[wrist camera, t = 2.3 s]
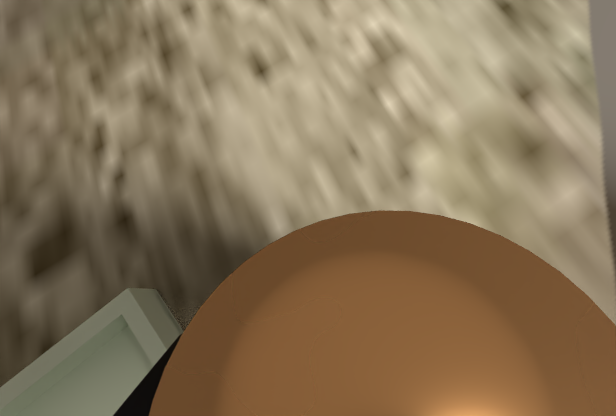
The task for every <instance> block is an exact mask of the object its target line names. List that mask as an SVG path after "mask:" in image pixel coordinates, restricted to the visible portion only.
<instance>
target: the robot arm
mask: <svg viewBox="0 0 616 416" xmlns="http://www.w3.org/2000/svg"><path fill="white" fill-rule="evenodd" d="M182 334H183V333H182ZM182 334H180V335H179V336H178V337H177V338H176V340H175V341H174V342H173V343H172V344H171V346H170V347H169V348H168V349H167V351H166V352H165V353H164V354H163V355H162V357H161V358H160V359H159V360H158V361H157V363H156V364H155V365H154V366H153V367H152V369H151V370H150V371H149V372H148V374H147V375H146V376H145V377H144V378H143V380H142V381H141V382H140V383H139V384H138V386H137V387H136V388H135V389H134V390H133V392H132V393H131V394H130V395H129V396H128V398H127V399H126V400H125V401H124V403H123V404H122V405H121V406H120V407H119V409H118V410H117V411H116V412H115V413H114V415H113V416H149V413H150V409H151V405H152V401H153V398H154V396H155V393H156V390H157V388H158V385H159V382H160V380H161V377H162V374H163V372H164V369H165V367H166V365H167V363H168V361H169V359H170V357H171V355H172V353H173V351H174V349H175V347H176V345H177V343H178V341H179V339H180V337H181V335H182Z"/></svg>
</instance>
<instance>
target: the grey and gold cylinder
mask: <svg viewBox="0 0 616 416" xmlns="http://www.w3.org/2000/svg"><path fill="white" fill-rule="evenodd" d="M149 416H616V326H615V324H614V323H613V322H612V321H611V320H610V319H609V318H608V317H607V316H606V315H605V314H604V312H603V311H602V310H601V309H600V308H599V307H598V306H597V305H596V304H595V303H594V302H593V301H592V300H591V299H590V298H589V297H588V295H586V294H585V293H584V292H583V291H582V290H581V289H579V288H578V287H577V286H576V285H575V284H574V283H572V282H571V281H570V280H569V279H568V278H567V277H565V276H564V275H563V274H562V273H561V272H560V271H558V270H557V269H555V268H554V267H552V266H551V265H549V264H548V263H546V262H545V261H544V260H542V259H541V258H539V257H538V256H536V255H535V254H533V253H532V252H530V251H529V250H527V249H525V248H523V247H521V246H519V245H517V244H516V243H514V242H512V241H510V240H508V239H506V238H504V237H502V236H501V235H498V234H496V233H493V232H490V231H488V230H485V229H483V228H480V227H478V226H475V225H473V224H470V223H467V222H463V221H459V220H455V219H451V218H448V217H444V216H440V215H434V214H426V213H419V212H412V211H371V212H362V213H353V214H347V215H343V216H339V217H335V218H331V219H327V220H322V221H319V222H317V223H314V224H312V225H309V226H306V227H304V228H301V229H298V230H296V231H293V232H292V233H290V234H288V235H286V236H284V237H282V238H280V239H279V240H277V241H275V242H273V243H271V244H269V245H267V246H266V247H265V248H263V249H262V250H260V251H259V252H258V253H256V254H255V255H253V256H252V257H251V258H249V259H248V260H246V261H245V262H244V263H242V264H241V265H240V266H239V267H238V268H237V269H236V270H235V271H234V272H233V273H232V274H230V275H229V276H228V277H227V278H226V279H225V280H224V281H223V282H222V283H221V284H220V285H219V286H218V287H217V288H216V289H215V291H214V292H213V293H212V294H211V295H210V297H209V298H208V299H207V300H206V301H205V302H204V304H203V305H202V306H201V307H200V308H199V310H198V311H197V313H196V314H195V316H194V317H193V319H192V320H191V322H190V323H189V325H188V326H187V328H186V329H185V331H184V332H183V334H182V335H181V337H180V339H179V341H178V343H177V345H176V347H175V349H174V351H173V353H172V355H171V357H170V359H169V361H168V363H167V365H166V367H165V369H164V372H163V374H162V377H161V380H160V382H159V385H158V388H157V390H156V393H155V396H154V398H153V401H152V405H151V409H150V413H149Z"/></svg>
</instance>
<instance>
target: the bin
mask: <svg viewBox="0 0 616 416" xmlns="http://www.w3.org/2000/svg"><path fill="white" fill-rule="evenodd" d="M183 332H184V331H183V329H182V328H181V326H180V325H179V323H178V322H177V320H176V319H175V317H174V316H173V314H172V313H171V311H170V310H169V308H168V307H167V305H166V303H165V302H164V300H163V299H162V297H161V296H160V294H159V293H158V291H157V290H156V289H144V288H127V289H126V290H124V291H123V292H122V293H120V294H119V295H118V296H117V297H115V298H114V299H113V300H111V301H110V302H109V303H108V304H106V305H105V306H104V307H103V308H101V309H100V310H99V311H97V312H96V313H95V314H94V315H92V316H91V317H90V318H88V319H87V320H86V321H85V322H83V323H82V324H81V325H80V326H78V327H77V328H76V329H74V330H73V331H72V332H71V333H69V334H68V335H67V336H65V337H64V338H63V339H62V340H60V341H59V342H58V343H56V344H55V345H54V346H53V347H51V348H50V349H49V350H48V351H46V352H45V353H44V354H42V355H41V356H40V357H39V358H37V359H36V360H35V361H33V362H32V363H31V364H30V365H28V366H27V367H26V368H24V369H23V370H22V371H21V372H19V373H18V374H17V375H16V376H14V377H13V378H12V379H10V380H9V381H8V382H7V383H5V384H4V385H3V386H1V387H0V416H113V415H114V413H115V412H116V411H117V410H118V409H119V407H120V406H121V405H122V404H123V403H124V401H125V400H126V399H127V398H128V396H129V395H130V394H131V393H132V392H133V390H134V389H135V388H136V387H137V386H138V384H139V383H140V382H141V381H142V380H143V378H144V377H145V376H146V375H147V374H148V372H149V371H150V370H151V369H152V367H153V366H154V365H155V364H156V363H157V361H158V360H159V359H160V358H161V357H162V355H163V354H164V353H165V352H166V351H167V349H168V348H169V347H170V346H171V344H172V343H173V342H174V341H175V340H176V338H177V337H178V336H179V335H180V334H182V333H183Z"/></svg>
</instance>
